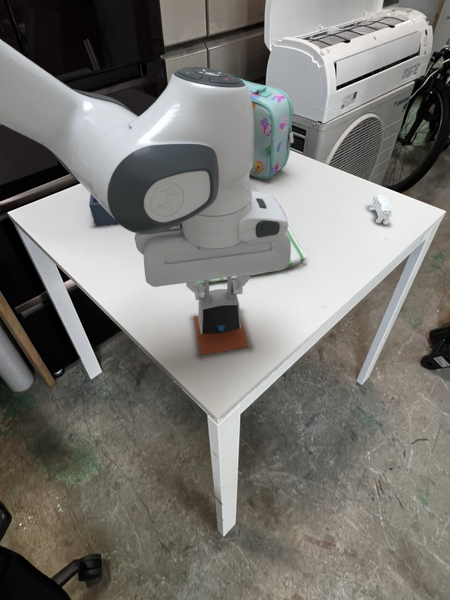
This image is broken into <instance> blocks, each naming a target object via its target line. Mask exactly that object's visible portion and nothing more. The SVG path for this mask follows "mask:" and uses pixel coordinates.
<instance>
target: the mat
mask: <svg viewBox="0 0 450 600" xmlns="http://www.w3.org/2000/svg"><path fill="white" fill-rule="evenodd" d="M198 316H199V315H194V316H193V317H194V319H193V320H194V324H195V330H196V336H197V337H196V338H197V342H198V348H199V354H200V355H201V356H202V355H207V354H213V353H220V352H227V351H233V350H240V349H245V348H249V342H248V338H247V335H246V331H245V328H244V324H243V321H242V317H241V316H240V318H241V328H240V329H236V330H232V331H228V332H224V333H212V334H201V332H200V325H199V319H198Z"/></svg>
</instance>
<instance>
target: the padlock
mask: <svg viewBox="0 0 450 600" xmlns="http://www.w3.org/2000/svg"><path fill="white" fill-rule="evenodd" d="M232 280H233V279H232V277H227V280H226V288H216V289H212V290H210V282H209V280H204V283H203V285H204V290H205V299H201V300H198V315H197V316H198V319H199V325H200V332H201V334H212V333H224V332H228V331H232V330H236V329H240V328H241V320H242V317H241V309H240V302H239V299H238V294H237V295H233V294H232ZM240 317H241V318H240Z"/></svg>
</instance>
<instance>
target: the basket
mask: <svg viewBox="0 0 450 600" xmlns="http://www.w3.org/2000/svg"><path fill="white" fill-rule="evenodd" d="M88 203H89V204H88V206H89V210H90V213H91V216H92V219H93V222H94V224H95V227H103V226H110V225H111V226H112V225H120V224H119V223H118V222H117V221H116V220H115V219H114V218H113V217H112V216H111V215H110V214H109V213H108V212H107V211H106V210H105V209H104V208H103V207H102V206H101V205H100V203H99V202H98V201H97V200H96V199H95V198H94V197H93V196H92V194H91V193H90V196H89V202H88Z"/></svg>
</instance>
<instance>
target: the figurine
mask: <svg viewBox="0 0 450 600" xmlns="http://www.w3.org/2000/svg"><path fill="white" fill-rule="evenodd" d="M368 209H369V211H375V212H376V213H377V219H375V223H376V224H380V223H382V224H383V225H384V226H385V225H388V224H389V222H390V218H391V217H392V207H391V203H390V202H389V201H388V199H387V196H386V195H376V196H373V199H372V205H371V206H369V208H368Z"/></svg>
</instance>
